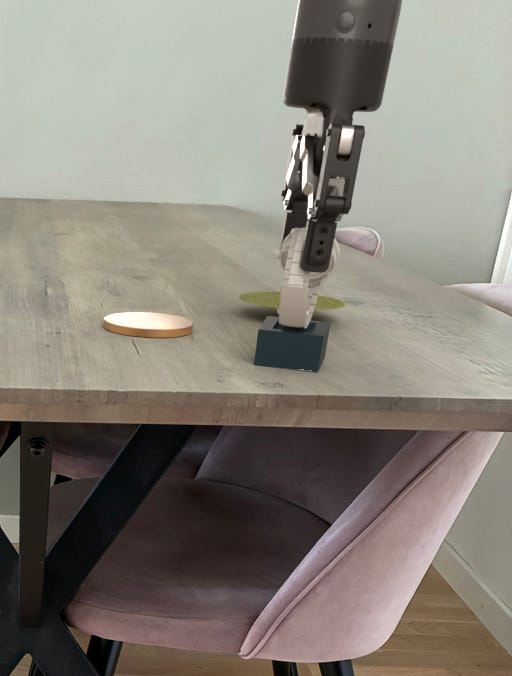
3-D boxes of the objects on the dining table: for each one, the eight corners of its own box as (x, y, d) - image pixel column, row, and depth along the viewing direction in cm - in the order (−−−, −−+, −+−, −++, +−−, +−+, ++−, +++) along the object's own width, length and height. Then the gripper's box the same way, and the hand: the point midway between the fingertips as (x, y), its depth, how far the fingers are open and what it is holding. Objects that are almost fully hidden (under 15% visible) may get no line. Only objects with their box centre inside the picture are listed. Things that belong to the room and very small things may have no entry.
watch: (327, 351, 87) (349, 221, 81) (314, 379, 81) (337, 241, 74) (266, 344, 89) (283, 217, 82) (248, 371, 82) (265, 236, 76)
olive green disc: (348, 331, 98) (351, 311, 97) (238, 324, 100) (240, 304, 99) (335, 312, 108) (338, 294, 107) (235, 305, 109) (237, 288, 108)
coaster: (187, 321, 100) (188, 313, 100) (197, 339, 92) (198, 331, 92) (102, 318, 100) (102, 310, 100) (104, 335, 92) (105, 327, 92)
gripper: (422, 33, 66) (369, 280, 74) (366, 48, 79) (325, 258, 86) (315, 26, 66) (272, 273, 74) (276, 42, 79) (243, 252, 86)
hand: (301, 264), depth 80 cm, fingers closed on watch, 8 cm apart
